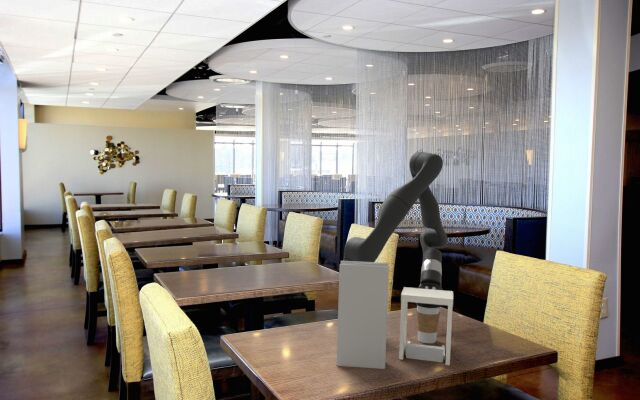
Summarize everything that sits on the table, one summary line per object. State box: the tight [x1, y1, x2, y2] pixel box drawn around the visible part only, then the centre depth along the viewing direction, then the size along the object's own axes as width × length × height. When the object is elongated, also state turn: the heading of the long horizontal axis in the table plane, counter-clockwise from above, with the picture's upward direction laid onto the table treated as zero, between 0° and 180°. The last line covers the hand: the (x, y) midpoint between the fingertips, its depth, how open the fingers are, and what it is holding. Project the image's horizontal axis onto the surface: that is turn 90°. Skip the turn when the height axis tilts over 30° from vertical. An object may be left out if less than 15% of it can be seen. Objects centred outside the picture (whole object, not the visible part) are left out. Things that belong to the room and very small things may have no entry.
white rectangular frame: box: [398, 286, 454, 366], centre depth 160 cm, size 15×13×20 cm
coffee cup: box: [415, 302, 442, 345], centre depth 173 cm, size 8×8×15 cm
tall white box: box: [336, 260, 390, 370], centre depth 151 cm, size 14×6×30 cm, turn 84°
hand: (428, 315), depth 182 cm, fingers closed
